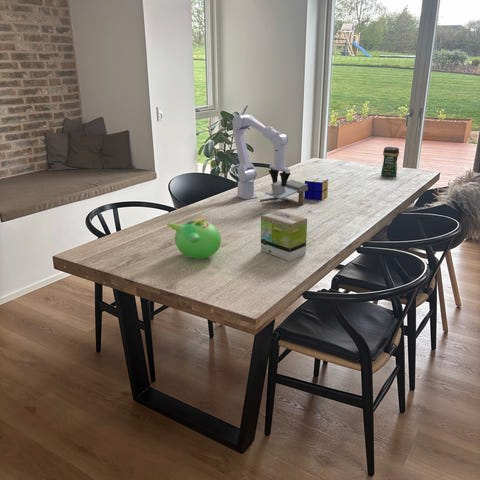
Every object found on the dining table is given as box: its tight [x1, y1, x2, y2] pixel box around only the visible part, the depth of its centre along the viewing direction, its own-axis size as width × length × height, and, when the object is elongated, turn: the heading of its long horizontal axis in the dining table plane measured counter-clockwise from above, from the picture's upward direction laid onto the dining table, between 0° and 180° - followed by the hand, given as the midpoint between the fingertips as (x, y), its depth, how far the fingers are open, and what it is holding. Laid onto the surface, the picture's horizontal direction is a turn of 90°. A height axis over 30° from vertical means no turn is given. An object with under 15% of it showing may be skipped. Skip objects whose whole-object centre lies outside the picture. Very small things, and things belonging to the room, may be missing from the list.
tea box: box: [260, 210, 308, 262], centre depth 184 cm, size 15×10×15 cm
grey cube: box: [270, 180, 285, 195], centre depth 252 cm, size 5×5×5 cm
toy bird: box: [166, 217, 222, 260], centre depth 182 cm, size 18×17×15 cm
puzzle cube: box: [304, 177, 329, 202], centre depth 264 cm, size 10×10×10 cm
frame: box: [259, 190, 305, 210], centre depth 255 cm, size 19×14×8 cm
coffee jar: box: [380, 146, 400, 178], centre depth 314 cm, size 10×8×19 cm
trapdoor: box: [264, 179, 308, 200], centre depth 255 cm, size 16×18×3 cm
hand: (279, 184), depth 252 cm, fingers open, 7 cm apart
